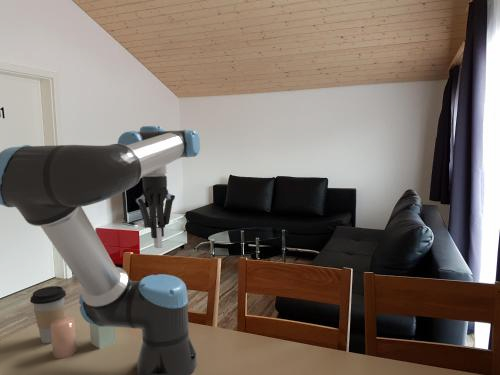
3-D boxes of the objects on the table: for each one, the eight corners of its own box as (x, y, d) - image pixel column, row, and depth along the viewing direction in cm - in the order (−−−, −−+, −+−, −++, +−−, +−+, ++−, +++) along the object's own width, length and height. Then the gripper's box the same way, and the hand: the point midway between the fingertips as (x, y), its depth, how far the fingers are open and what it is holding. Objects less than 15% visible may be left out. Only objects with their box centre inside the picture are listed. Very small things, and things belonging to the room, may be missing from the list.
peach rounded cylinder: (79, 352, 105) (77, 322, 104) (56, 361, 101) (53, 329, 100) (73, 344, 110) (70, 315, 109) (50, 352, 106) (48, 321, 105)
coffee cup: (76, 332, 117) (72, 286, 115) (53, 348, 108) (48, 298, 106) (51, 329, 119) (47, 284, 117) (26, 344, 110) (21, 295, 108)
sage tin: (116, 341, 111) (115, 316, 110) (99, 349, 107) (97, 323, 106) (107, 335, 114) (105, 311, 113) (90, 343, 110) (88, 318, 109)
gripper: (167, 173, 126) (170, 241, 129) (130, 176, 118) (134, 248, 121) (178, 174, 121) (181, 245, 123) (140, 177, 112) (144, 253, 115)
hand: (158, 247), depth 122 cm, fingers closed
